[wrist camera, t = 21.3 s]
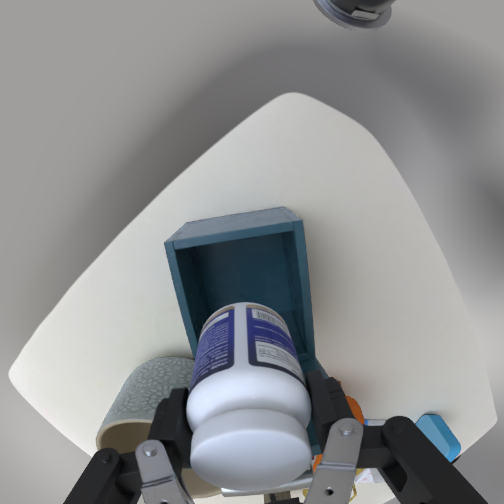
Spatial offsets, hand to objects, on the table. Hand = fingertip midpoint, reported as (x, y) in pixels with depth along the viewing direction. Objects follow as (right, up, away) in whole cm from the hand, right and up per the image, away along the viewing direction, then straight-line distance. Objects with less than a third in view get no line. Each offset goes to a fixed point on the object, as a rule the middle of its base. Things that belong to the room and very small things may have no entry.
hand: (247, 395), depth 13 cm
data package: (+34, -31, +34) cm, 57 cm away
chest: (-1, +5, +23) cm, 24 cm away
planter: (-10, -13, +28) cm, 32 cm away
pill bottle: (0, +1, +6) cm, 6 cm away
